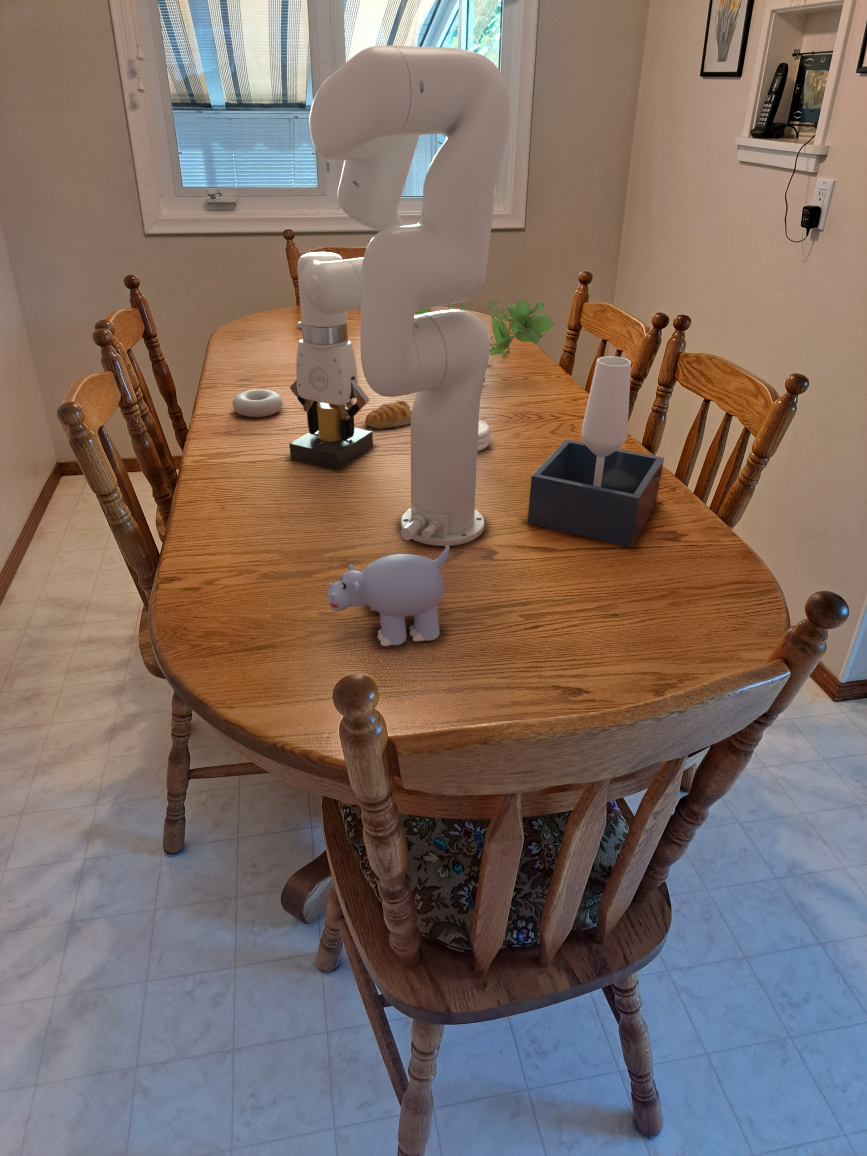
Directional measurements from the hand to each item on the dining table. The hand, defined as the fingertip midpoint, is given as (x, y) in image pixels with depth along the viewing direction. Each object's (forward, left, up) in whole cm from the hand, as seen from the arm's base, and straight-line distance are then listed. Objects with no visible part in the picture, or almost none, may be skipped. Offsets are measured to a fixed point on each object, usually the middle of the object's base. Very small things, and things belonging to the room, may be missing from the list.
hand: (331, 434), depth 139 cm
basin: (-1, -49, -4) cm, 49 cm away
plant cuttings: (+50, -4, -4) cm, 50 cm away
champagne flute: (-1, -49, -4) cm, 49 cm away
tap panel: (0, 0, -4) cm, 4 cm away
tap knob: (0, 0, -1) cm, 1 cm away
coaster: (+15, -19, -4) cm, 25 cm away
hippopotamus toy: (-41, -35, -4) cm, 54 cm away
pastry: (+18, -2, -4) cm, 19 cm away
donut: (+11, +25, -4) cm, 28 cm away
